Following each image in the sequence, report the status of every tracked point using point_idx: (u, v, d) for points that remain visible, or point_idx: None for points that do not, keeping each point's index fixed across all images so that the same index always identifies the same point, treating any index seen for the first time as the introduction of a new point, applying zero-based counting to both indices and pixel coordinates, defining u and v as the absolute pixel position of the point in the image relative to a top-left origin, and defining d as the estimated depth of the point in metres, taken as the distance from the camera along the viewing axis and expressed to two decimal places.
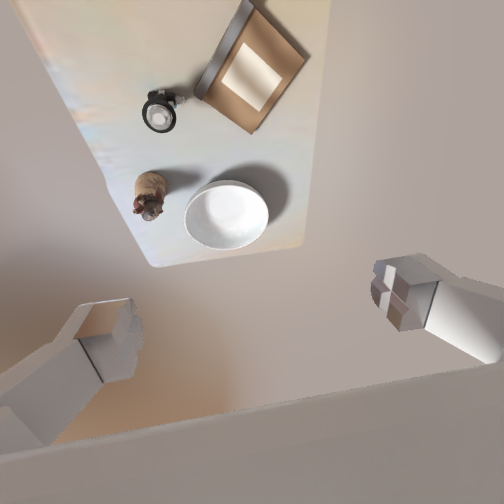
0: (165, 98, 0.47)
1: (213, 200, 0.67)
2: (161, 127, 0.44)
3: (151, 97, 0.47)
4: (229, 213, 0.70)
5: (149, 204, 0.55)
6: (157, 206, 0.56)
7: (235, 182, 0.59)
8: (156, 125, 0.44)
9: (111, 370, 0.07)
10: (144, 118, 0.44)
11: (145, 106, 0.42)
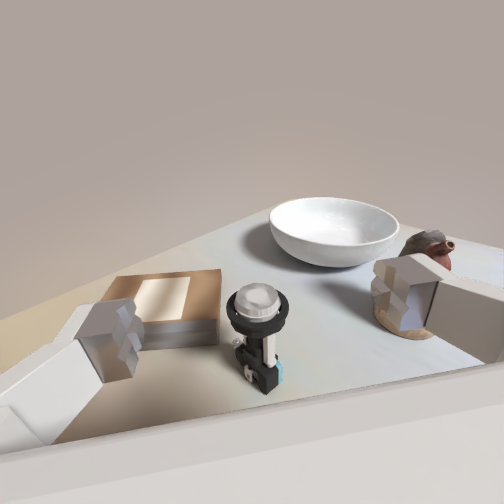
0: (244, 349, 0.25)
1: None
2: (267, 288, 0.23)
3: (262, 372, 0.24)
4: (329, 240, 0.49)
5: (413, 253, 0.28)
6: (403, 249, 0.29)
7: (279, 237, 0.42)
8: (270, 293, 0.22)
9: (111, 370, 0.07)
10: (279, 318, 0.21)
11: (257, 325, 0.21)
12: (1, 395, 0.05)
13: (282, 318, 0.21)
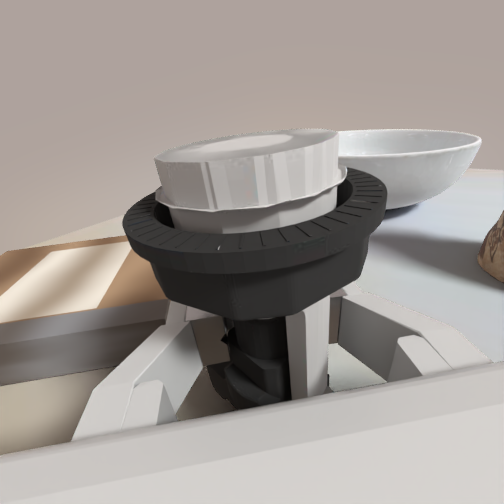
0: (228, 365, 0.08)
1: None
2: (284, 131, 0.06)
3: None
4: None
5: None
6: None
7: None
8: (300, 133, 0.05)
9: (212, 353, 0.07)
10: (364, 207, 0.04)
11: (257, 241, 0.04)
12: (145, 370, 0.05)
13: (378, 206, 0.04)
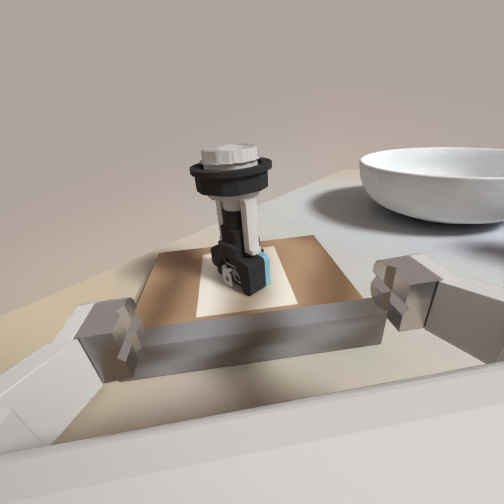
0: None
1: None
2: (243, 144, 0.18)
3: (243, 261, 0.18)
4: None
5: None
6: None
7: (394, 186, 0.28)
8: (246, 145, 0.17)
9: (111, 370, 0.07)
10: (258, 166, 0.16)
11: (228, 171, 0.15)
12: (1, 395, 0.05)
13: (262, 166, 0.16)
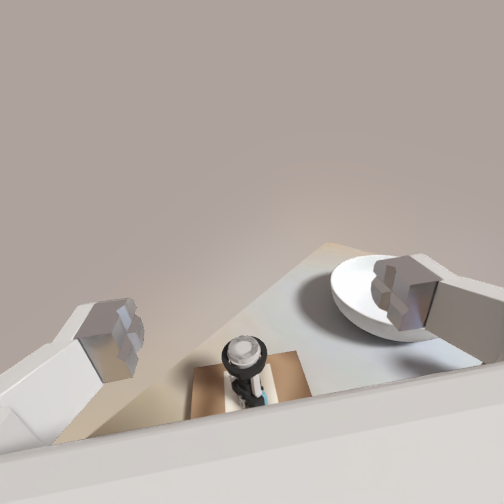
0: (237, 384, 0.33)
1: None
2: (251, 339, 0.31)
3: (252, 401, 0.32)
4: None
5: None
6: None
7: (350, 314, 0.42)
8: (253, 344, 0.31)
9: (111, 370, 0.07)
10: (260, 364, 0.29)
11: (244, 371, 0.29)
12: (1, 395, 0.05)
13: (262, 363, 0.29)
